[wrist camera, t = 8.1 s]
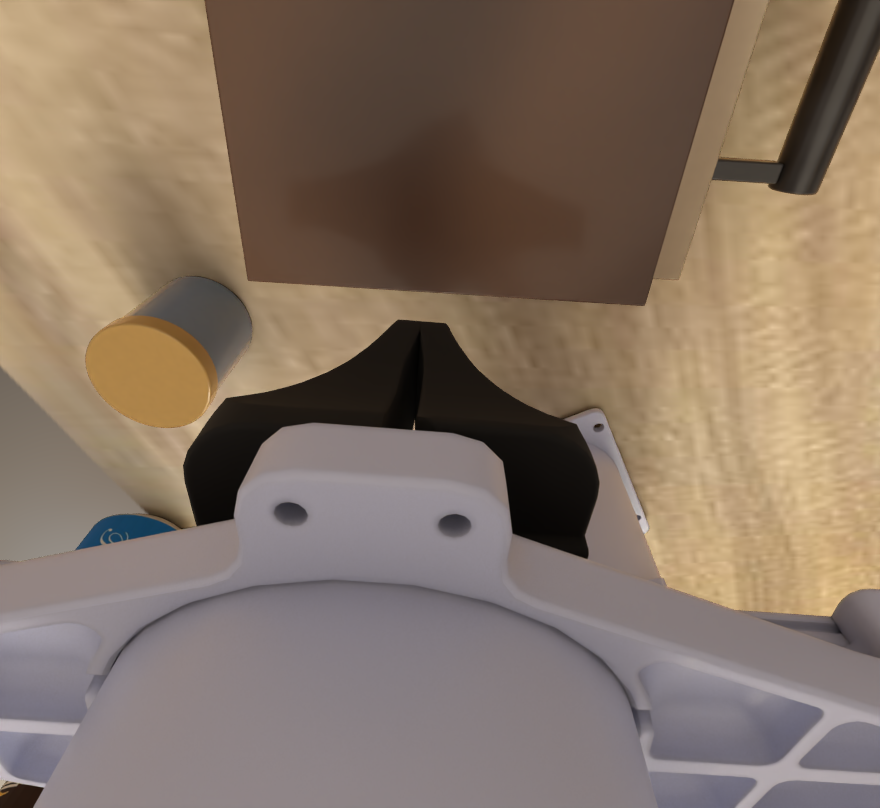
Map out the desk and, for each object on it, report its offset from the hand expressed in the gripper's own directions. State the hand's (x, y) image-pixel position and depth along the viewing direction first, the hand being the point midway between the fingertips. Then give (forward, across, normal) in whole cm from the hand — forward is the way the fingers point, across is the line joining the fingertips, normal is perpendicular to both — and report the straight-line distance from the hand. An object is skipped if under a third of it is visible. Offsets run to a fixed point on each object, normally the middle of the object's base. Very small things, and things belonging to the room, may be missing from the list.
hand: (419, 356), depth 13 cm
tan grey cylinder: (+10, +10, +4) cm, 15 cm away
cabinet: (+10, 0, -7) cm, 12 cm away
